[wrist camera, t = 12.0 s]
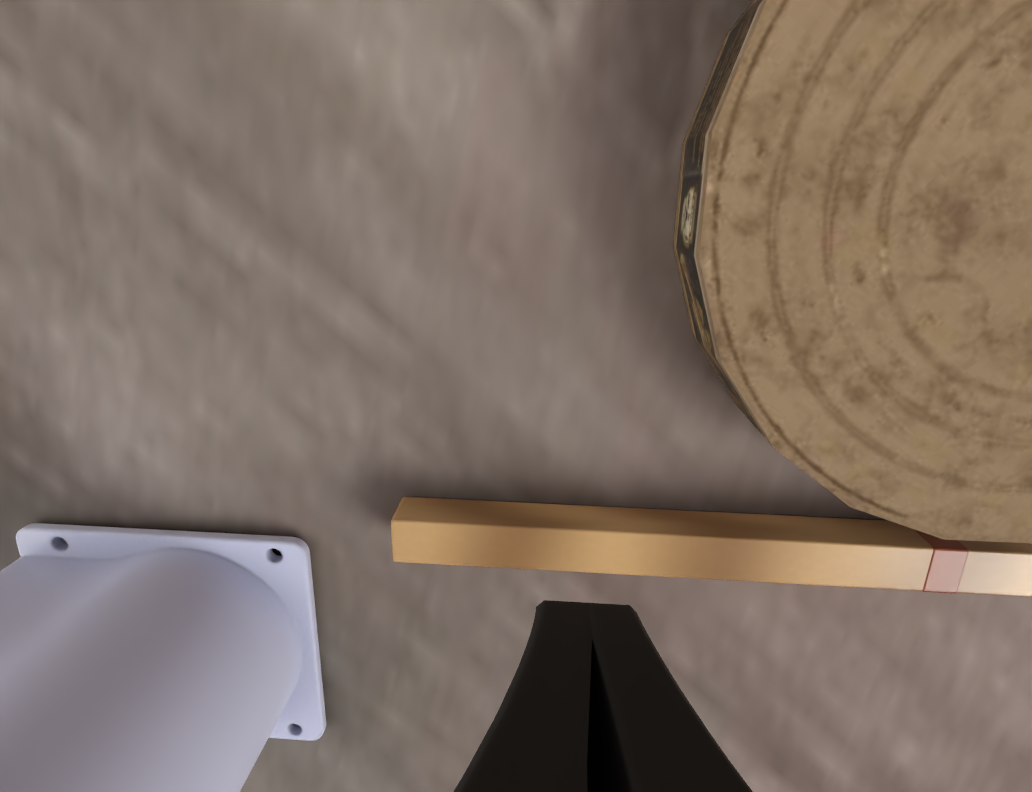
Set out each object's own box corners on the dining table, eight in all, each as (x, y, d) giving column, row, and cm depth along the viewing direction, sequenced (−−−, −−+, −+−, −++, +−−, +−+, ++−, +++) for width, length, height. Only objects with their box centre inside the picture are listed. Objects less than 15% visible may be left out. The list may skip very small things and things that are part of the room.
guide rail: (404, 535, 19) (392, 563, 18) (402, 494, 19) (389, 520, 17) (994, 566, 18) (1032, 598, 17) (1007, 524, 18) (1047, 554, 16)
